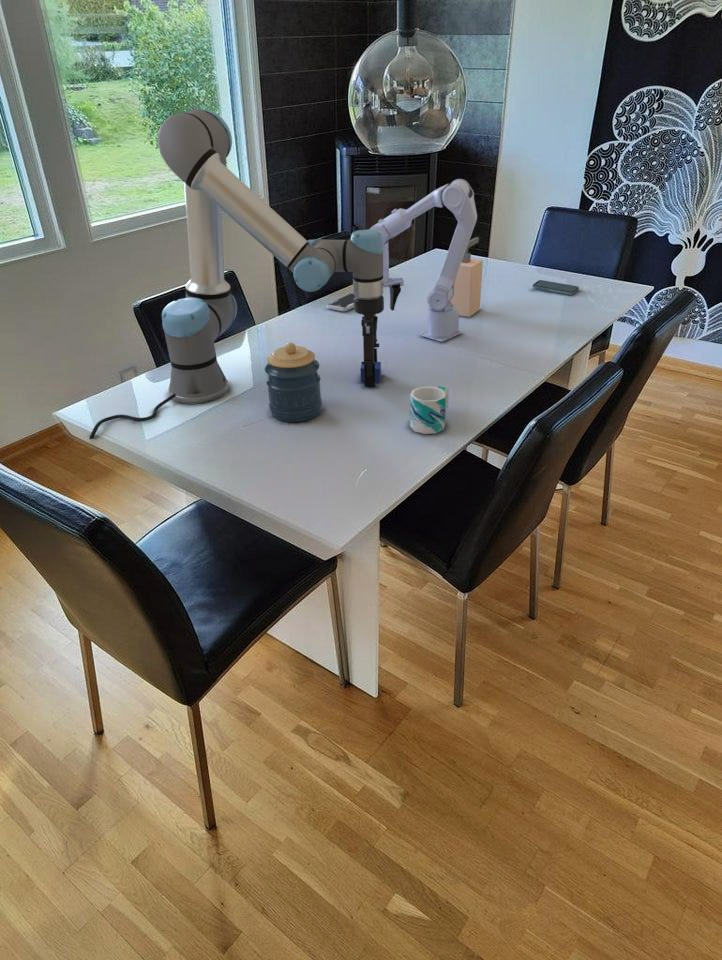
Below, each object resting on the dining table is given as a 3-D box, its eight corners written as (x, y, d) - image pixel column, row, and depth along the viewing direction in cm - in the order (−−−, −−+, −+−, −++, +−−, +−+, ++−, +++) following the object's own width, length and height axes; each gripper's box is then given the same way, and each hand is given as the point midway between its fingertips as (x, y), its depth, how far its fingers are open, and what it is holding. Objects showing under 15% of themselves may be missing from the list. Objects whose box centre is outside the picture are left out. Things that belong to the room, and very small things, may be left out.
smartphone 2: (573, 292, 232) (531, 284, 239) (572, 296, 233) (531, 289, 240) (579, 286, 237) (539, 279, 244) (579, 290, 238) (538, 283, 245)
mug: (404, 428, 156) (404, 396, 152) (428, 408, 165) (428, 376, 160) (435, 436, 153) (436, 403, 148) (458, 415, 161) (460, 383, 156)
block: (380, 382, 179) (379, 368, 176) (360, 382, 179) (360, 368, 177) (381, 375, 182) (380, 361, 180) (362, 375, 183) (361, 361, 181)
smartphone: (369, 296, 236) (344, 308, 226) (369, 300, 237) (344, 312, 227) (351, 293, 240) (326, 304, 230) (351, 296, 241) (326, 308, 230)
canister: (275, 426, 159) (266, 357, 150) (266, 403, 170) (257, 337, 160) (328, 418, 162) (323, 349, 153) (316, 396, 173) (310, 330, 163)
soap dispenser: (469, 317, 218) (472, 247, 206) (445, 313, 222) (447, 244, 210) (485, 305, 227) (489, 238, 215) (462, 302, 231) (465, 236, 219)
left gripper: (381, 309, 159) (383, 395, 171) (385, 282, 177) (387, 362, 189) (350, 310, 160) (354, 395, 172) (357, 283, 178) (360, 362, 190)
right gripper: (358, 272, 195) (360, 317, 203) (406, 267, 198) (406, 312, 205) (353, 265, 201) (355, 310, 209) (400, 261, 204) (400, 305, 211)
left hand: (371, 378), depth 181 cm, fingers open, 9 cm apart
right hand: (380, 310), depth 207 cm, fingers open, 7 cm apart
